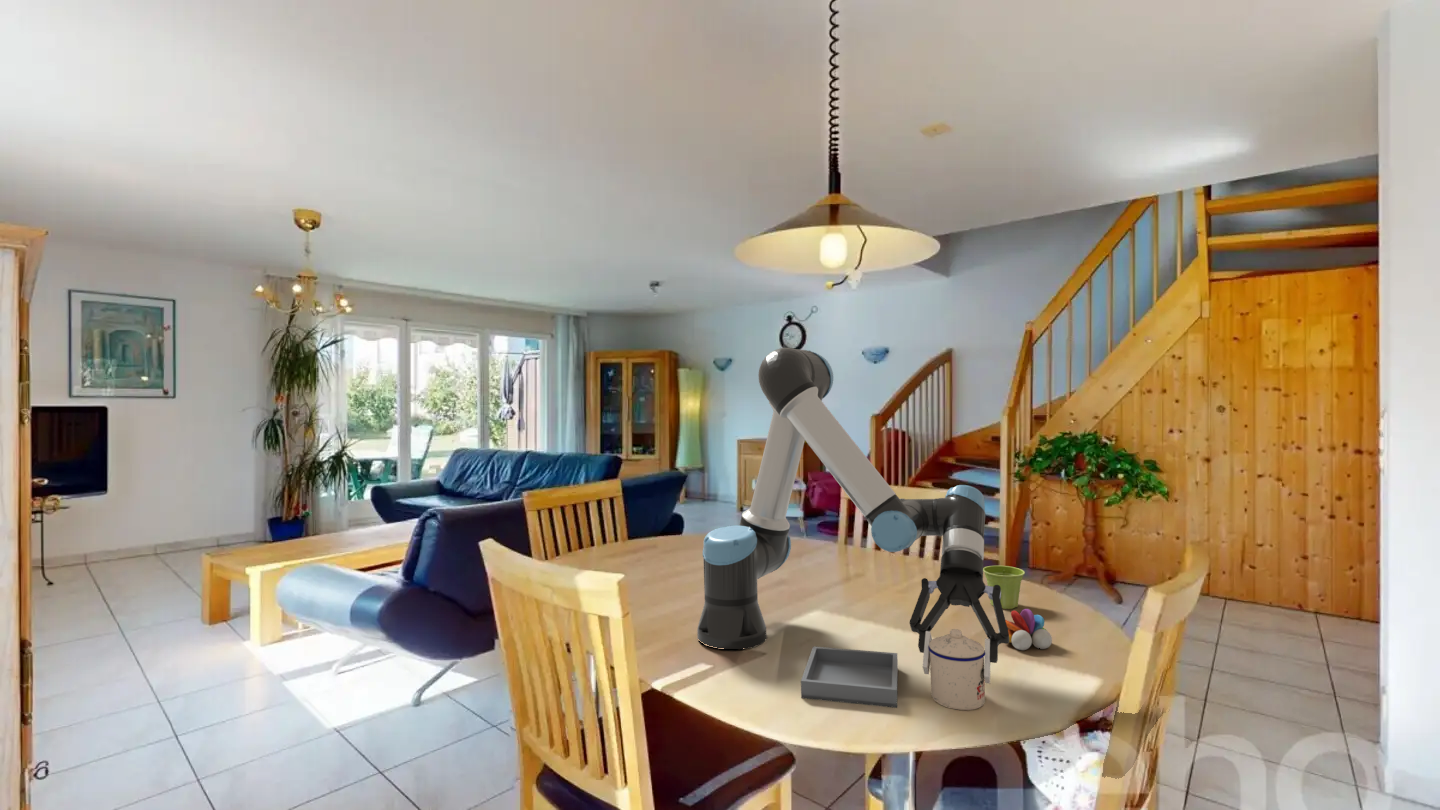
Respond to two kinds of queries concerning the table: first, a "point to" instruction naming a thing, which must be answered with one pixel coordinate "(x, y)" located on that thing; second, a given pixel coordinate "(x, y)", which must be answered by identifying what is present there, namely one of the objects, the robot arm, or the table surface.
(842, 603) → the table surface
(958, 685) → the teacup with lid
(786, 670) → the table surface
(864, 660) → the tray
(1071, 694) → the table surface
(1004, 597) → the plant pot
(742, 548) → the robot arm
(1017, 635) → the rainbow segmented toy
